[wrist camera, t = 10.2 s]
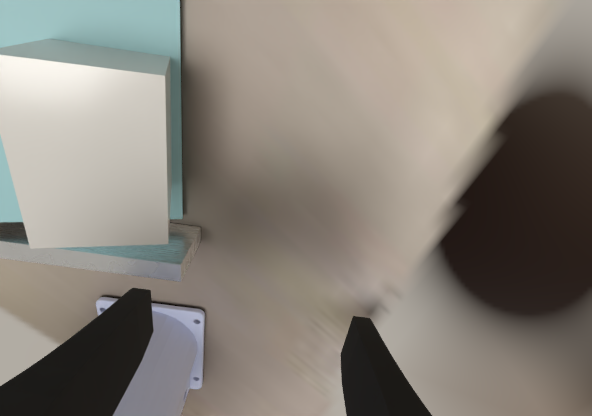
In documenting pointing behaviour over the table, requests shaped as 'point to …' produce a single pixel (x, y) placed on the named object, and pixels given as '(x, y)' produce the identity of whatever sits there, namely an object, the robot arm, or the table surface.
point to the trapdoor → (108, 33)
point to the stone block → (88, 142)
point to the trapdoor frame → (109, 253)
